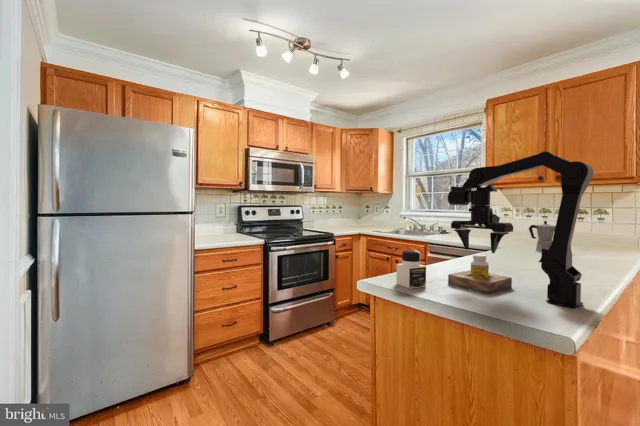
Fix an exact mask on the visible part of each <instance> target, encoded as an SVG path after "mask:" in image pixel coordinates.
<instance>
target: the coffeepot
mask: <svg viewBox="0 0 640 426" xmlns="http://www.w3.org/2000/svg"><path fill="white" fill-rule="evenodd" d="M547 223H548V221H547V220H544V221H543V224H531V225H530V226H529V227H528V231H529V233H530V236H531V239H533V240H534V239H537V237H538V240H537V243H536V247H535V251H536V252H541V253H542V249H543V248H546V247H550V246H551V244H552V241H553V236H554V231H555V227H556V225H551V224H547ZM533 229H536V233H537V237H536V236H535V235H534V234H535V233H534V230H533Z"/></svg>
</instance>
